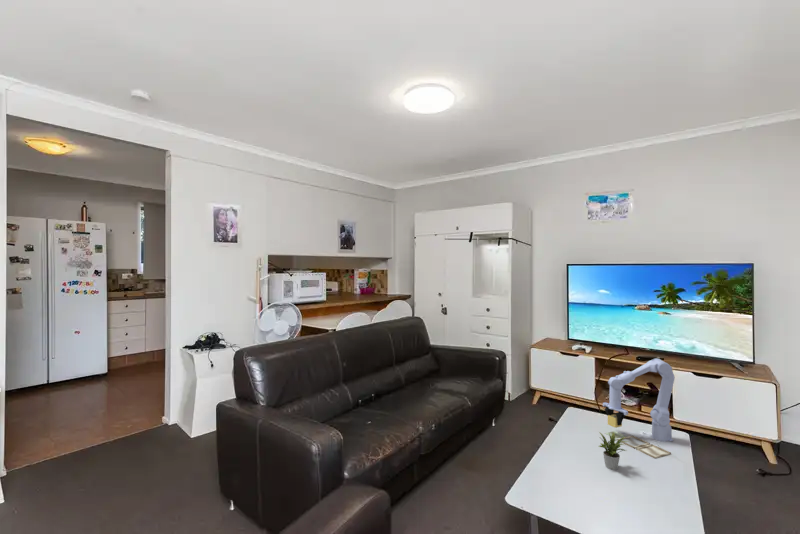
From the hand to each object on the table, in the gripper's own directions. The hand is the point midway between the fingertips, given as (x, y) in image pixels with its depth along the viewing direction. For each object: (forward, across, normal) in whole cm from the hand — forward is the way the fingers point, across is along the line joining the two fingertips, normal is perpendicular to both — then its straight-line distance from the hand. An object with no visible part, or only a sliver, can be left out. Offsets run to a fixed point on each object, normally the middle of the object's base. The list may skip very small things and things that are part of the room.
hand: (614, 423), depth 219 cm
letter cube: (+1, 0, 0) cm, 1 cm away
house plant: (+8, +24, -31) cm, 40 cm away
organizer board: (+7, +12, +1) cm, 14 cm away
